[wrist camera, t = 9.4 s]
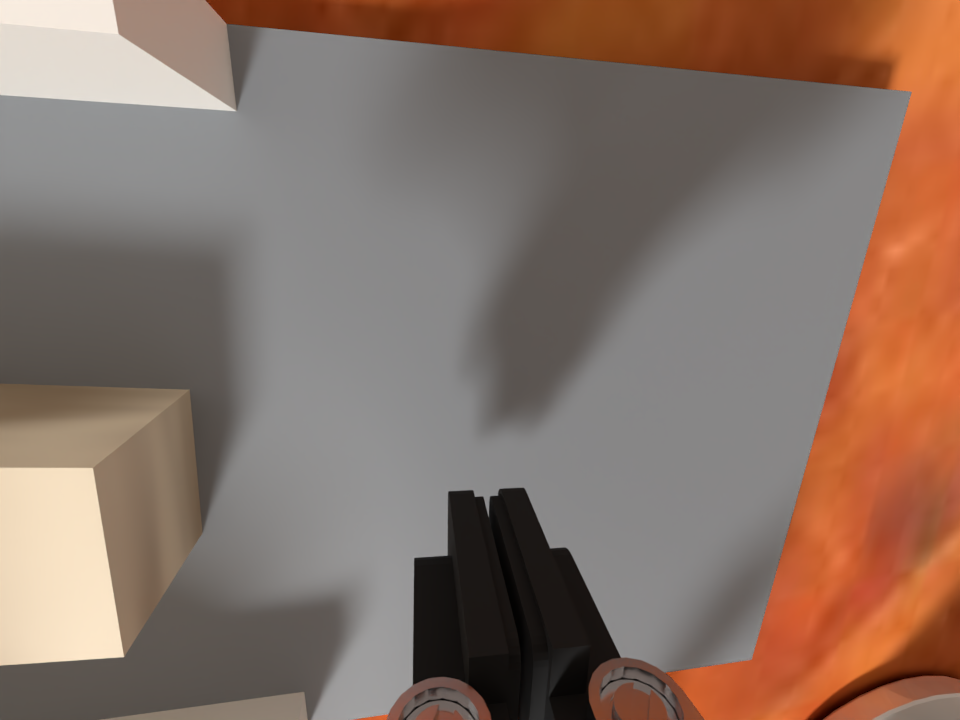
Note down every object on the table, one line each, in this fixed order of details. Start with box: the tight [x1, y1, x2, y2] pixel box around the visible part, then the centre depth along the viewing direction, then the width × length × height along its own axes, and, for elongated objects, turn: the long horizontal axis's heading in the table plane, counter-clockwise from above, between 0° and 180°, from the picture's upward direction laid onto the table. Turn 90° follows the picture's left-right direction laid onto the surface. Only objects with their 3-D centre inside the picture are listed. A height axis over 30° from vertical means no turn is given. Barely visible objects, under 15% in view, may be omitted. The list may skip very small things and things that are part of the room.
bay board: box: [0, 0, 911, 720], centre depth 10 cm, size 34×19×5 cm, turn 88°
